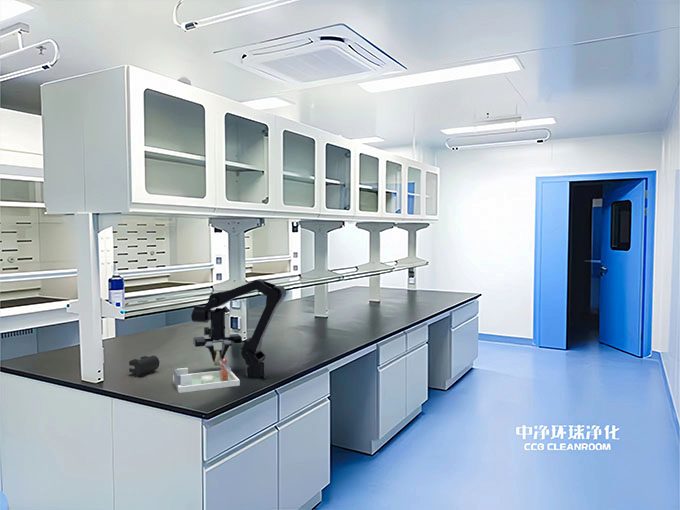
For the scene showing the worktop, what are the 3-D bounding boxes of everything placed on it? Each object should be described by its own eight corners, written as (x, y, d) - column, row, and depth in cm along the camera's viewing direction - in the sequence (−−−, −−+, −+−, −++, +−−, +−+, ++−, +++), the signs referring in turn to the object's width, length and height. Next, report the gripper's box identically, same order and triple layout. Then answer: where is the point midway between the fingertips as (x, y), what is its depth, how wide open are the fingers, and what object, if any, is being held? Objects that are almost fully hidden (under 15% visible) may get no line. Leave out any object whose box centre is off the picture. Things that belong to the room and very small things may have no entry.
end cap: (141, 378, 195) (141, 361, 194) (128, 376, 197) (128, 359, 197) (159, 372, 204) (159, 355, 204) (146, 369, 207) (146, 354, 206)
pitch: (229, 376, 198) (229, 361, 198) (239, 388, 184) (239, 371, 183) (173, 383, 188) (172, 367, 188) (178, 395, 174) (178, 378, 174)
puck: (211, 380, 189) (211, 374, 189) (214, 383, 185) (214, 377, 185) (200, 382, 187) (200, 375, 187) (202, 385, 183) (202, 378, 183)
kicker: (220, 370, 201) (220, 349, 201) (233, 385, 182) (233, 361, 182) (213, 371, 200) (213, 349, 200) (225, 386, 181) (225, 362, 180)
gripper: (235, 318, 210) (235, 354, 210) (190, 321, 202) (191, 358, 202) (242, 322, 200) (242, 360, 200) (195, 326, 192) (195, 365, 192)
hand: (217, 361), depth 199 cm, fingers closed on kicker, 3 cm apart
